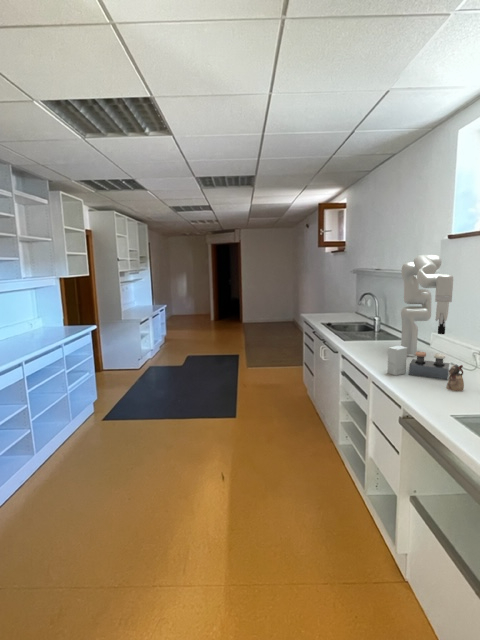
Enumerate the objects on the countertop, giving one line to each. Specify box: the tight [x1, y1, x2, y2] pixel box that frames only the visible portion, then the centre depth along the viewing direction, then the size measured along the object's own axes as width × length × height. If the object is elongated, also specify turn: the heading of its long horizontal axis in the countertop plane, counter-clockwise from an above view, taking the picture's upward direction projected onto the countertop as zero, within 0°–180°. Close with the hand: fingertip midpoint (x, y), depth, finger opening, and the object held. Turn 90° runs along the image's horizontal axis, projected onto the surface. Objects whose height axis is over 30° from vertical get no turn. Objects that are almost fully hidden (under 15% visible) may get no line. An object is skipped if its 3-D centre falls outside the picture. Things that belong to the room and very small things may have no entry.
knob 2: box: [433, 353, 446, 367], centre depth 191 cm, size 5×5×8 cm
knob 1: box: [415, 350, 427, 364], centre depth 196 cm, size 5×5×8 cm
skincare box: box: [387, 345, 408, 377], centre depth 197 cm, size 8×6×15 cm
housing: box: [408, 358, 450, 381], centre depth 194 cm, size 12×18×6 cm, turn 57°
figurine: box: [446, 363, 465, 392], centre depth 172 cm, size 7×7×12 cm
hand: (441, 333), depth 189 cm, fingers closed
